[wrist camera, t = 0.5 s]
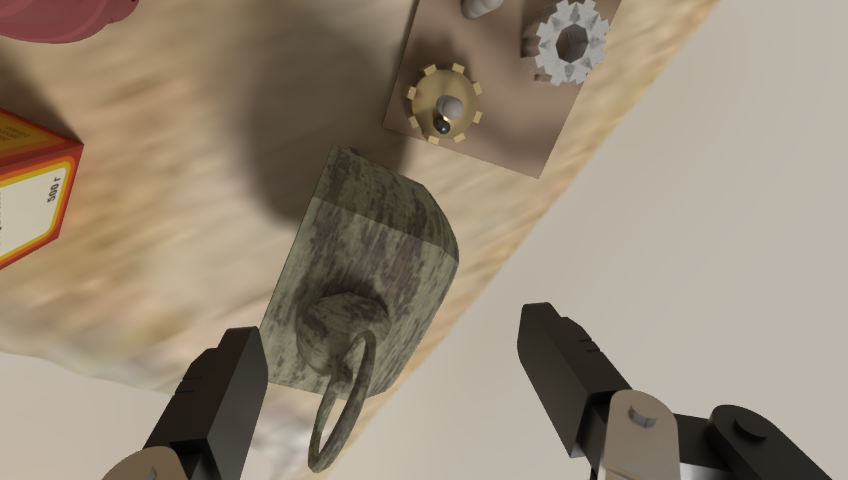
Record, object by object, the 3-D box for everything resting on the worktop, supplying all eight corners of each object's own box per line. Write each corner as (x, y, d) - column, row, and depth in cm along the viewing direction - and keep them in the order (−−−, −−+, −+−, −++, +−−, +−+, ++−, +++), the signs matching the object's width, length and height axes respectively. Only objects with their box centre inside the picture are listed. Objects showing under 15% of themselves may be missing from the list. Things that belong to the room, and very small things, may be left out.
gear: (416, 51, 31) (425, 48, 26) (483, 78, 32) (503, 80, 28) (394, 126, 33) (399, 135, 28) (458, 147, 34) (472, 159, 30)
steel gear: (539, -10, 30) (556, -18, 27) (601, 20, 32) (623, 16, 29) (508, 70, 32) (521, 70, 30) (567, 94, 34) (585, 97, 31)
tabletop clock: (340, 126, 33) (292, 250, 11) (429, 168, 36) (542, 337, 13) (286, 260, 38) (172, 545, 15) (369, 288, 40) (378, 564, 18)
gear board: (473, -188, 26) (511, -277, 19) (651, -80, 30) (733, -122, 23) (382, 125, 34) (387, 139, 27) (534, 176, 38) (571, 199, 31)
